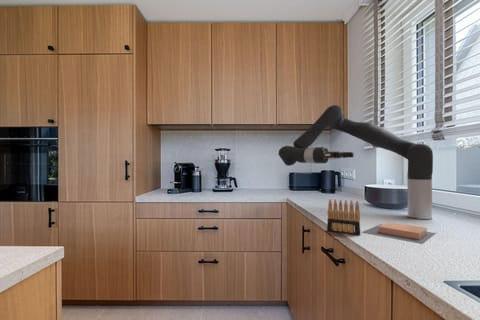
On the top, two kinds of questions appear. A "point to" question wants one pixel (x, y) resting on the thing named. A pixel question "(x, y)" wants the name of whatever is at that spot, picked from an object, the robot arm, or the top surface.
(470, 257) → the top surface
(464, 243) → the top surface
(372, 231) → the mat
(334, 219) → the ammunition clip
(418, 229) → the tile
